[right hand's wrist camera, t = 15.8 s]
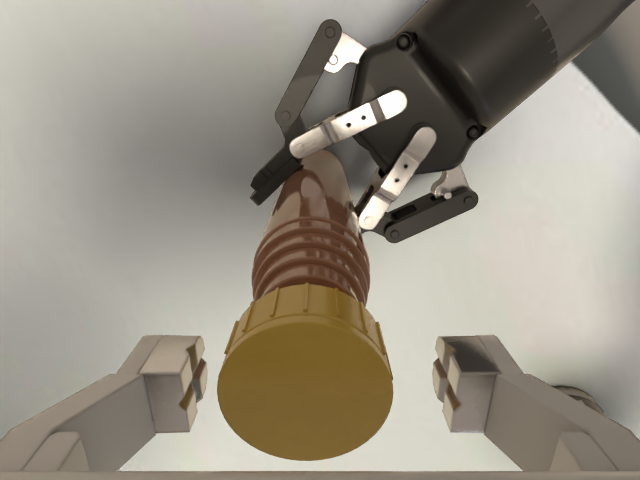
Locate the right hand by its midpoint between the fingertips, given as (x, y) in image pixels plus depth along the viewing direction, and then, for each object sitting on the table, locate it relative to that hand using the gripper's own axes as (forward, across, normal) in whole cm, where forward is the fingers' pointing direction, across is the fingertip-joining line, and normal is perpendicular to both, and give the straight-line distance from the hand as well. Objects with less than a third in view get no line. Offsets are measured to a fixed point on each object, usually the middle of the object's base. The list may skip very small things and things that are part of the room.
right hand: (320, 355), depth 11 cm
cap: (-2, 0, 0) cm, 2 cm away
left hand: (+15, -2, -1) cm, 15 cm away
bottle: (+21, 0, 0) cm, 21 cm away
